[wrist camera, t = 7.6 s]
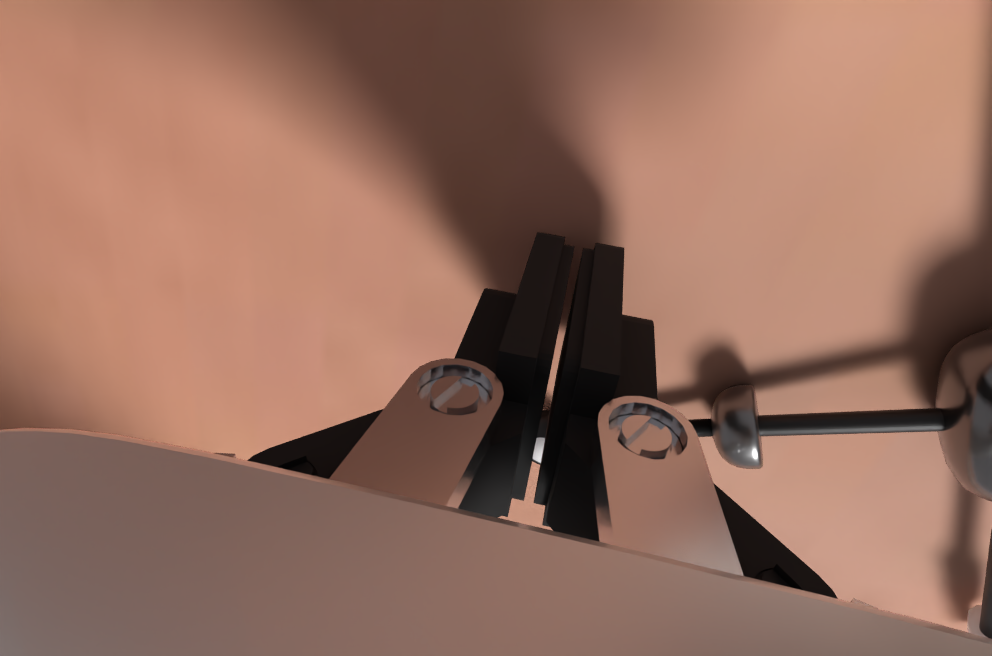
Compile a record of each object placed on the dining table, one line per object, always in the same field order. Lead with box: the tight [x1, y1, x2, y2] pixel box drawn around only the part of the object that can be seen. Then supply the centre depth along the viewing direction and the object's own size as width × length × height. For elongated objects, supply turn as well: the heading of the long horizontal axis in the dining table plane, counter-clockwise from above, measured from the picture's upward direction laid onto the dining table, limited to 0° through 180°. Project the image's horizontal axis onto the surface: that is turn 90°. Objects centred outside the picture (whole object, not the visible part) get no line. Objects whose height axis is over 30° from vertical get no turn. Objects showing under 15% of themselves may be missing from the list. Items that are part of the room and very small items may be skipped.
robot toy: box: [532, 328, 992, 639], centre depth 10 cm, size 13×13×3 cm
